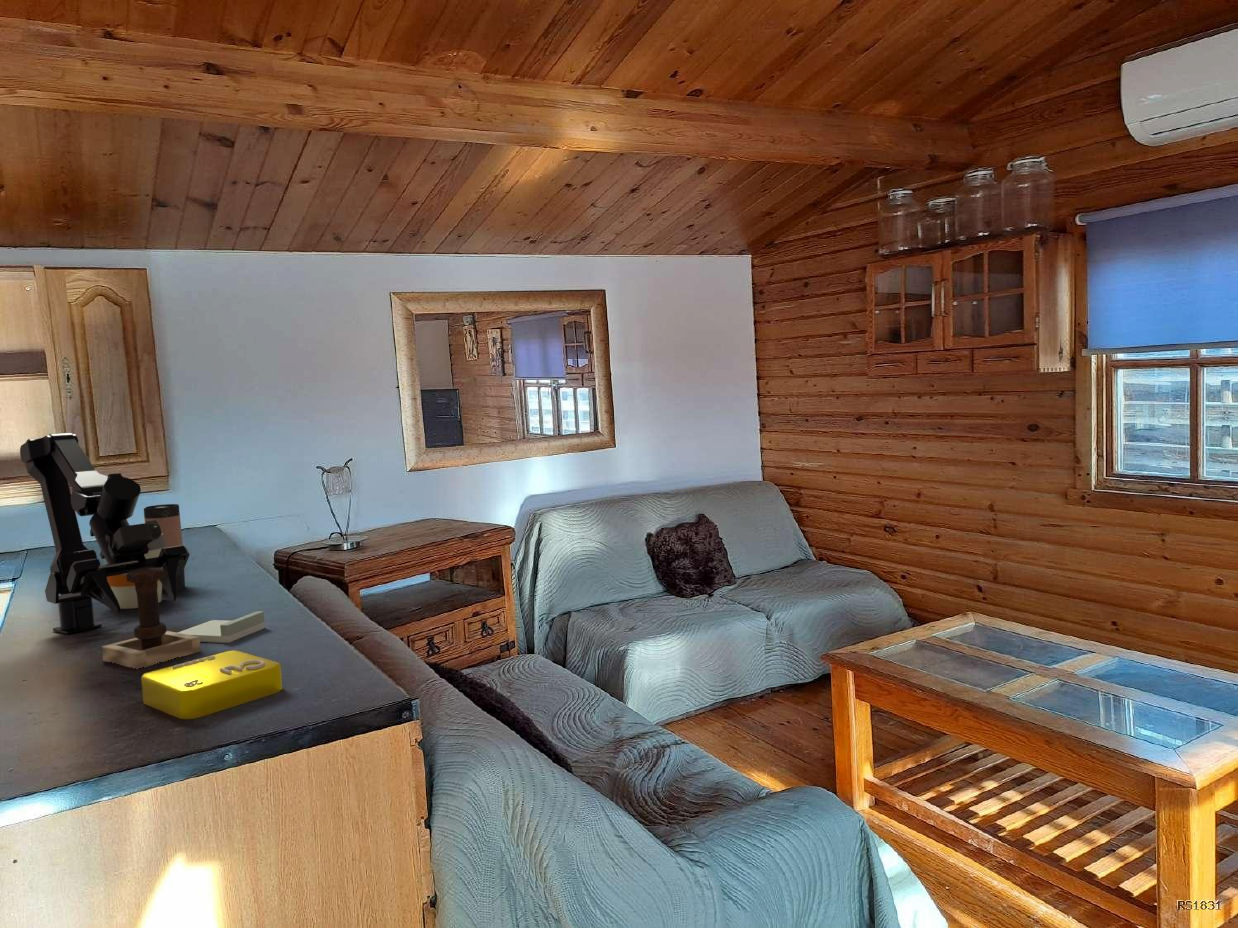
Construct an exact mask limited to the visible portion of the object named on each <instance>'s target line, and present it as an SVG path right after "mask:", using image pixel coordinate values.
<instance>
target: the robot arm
mask: <svg viewBox="0 0 1238 928" xmlns="http://www.w3.org/2000/svg"><path fill="white" fill-rule="evenodd" d="M19 455H20V459H21V461H22V463H24V465H25V469H26V472H27V474H28V475H29V476H30V477H32V478H33V480H35V481H36V482H38V483H39V485H40V489H41V492H42V493H41V494H42V497H43V501H44V506H45V510H46V515H47V518H48V519H47V520H48V523H49V526H50V531H51V536H52V539H53V544H54V548H55V555H54V558H53V560H52V562H51V564H50V566H49V571H50V574H49V575H48V579H47V583H46V587H45V589H44V594H45V597H46V598H45V599H46V601H47V602H49V603H51V604H55V605H58V614H59V617H58V618H59V625H60V626H58V627H57V626H56V627H53V628H52V631H53V632H58V633H62V634H67V635H71V634H75V633H78V632H79V633H80V632H83V631H88V630H91V629H97V628H100V627H103V623H101V622H96V621H95V616H94V607H93V606H94V604H93V600H95V601H98V602H100V603H101V604H103V605H104V606H106V607H107V608H108V609H110V610H112V611H113V612H115V613H116V614H119V613H120V612H121V610H122V609H121V608H120V605H119V602H118V600H117V598H116V596H115V595H114V593H113V591H112V589H111V586H110V585H109V583H108V581H107V577H108V576H115V575H121V574H122V575H126V574H128V573H129V572H130V571H133V570H138V569H145V568H161V569H163V571H164V576H165V577H164V578H161V579H160V582H161V583H162V585H163V587H164V589H165V590H166V592H165V593H166V594H167V595H168V597H169V598H170V600H171V601H172V602H175V601H176V600H177V597H178V594H177V591H178V590H176V578H177V576H178V575H179V574H181V573H182V572H183V570H184V571H185V567H186V565H187V562H188V560H189V557H190V555H191V554H190V552H189V550H188V548H187V547H186V546H185V545H184V544H183V545H178V546H172V547H166V548H162V549H161V551H160V554H159V557H155V558H149V559H146V558H145V556H144V555H145V554H148V551H149V548H148V546H147V545H148V544H149V543H150V542H152V541H153V540H156V539H158V538H159V537H160V536H161V534H162V532H161V528H160V526H159V524H158V522H157V521H156V520H152V521H146V523H145V522H144V523H137V524H136V523H135V524H131V525H130V523H129V521H128V519H130V518H132V517H133V516H134V513H135V512H134V511H135V509H136V507H137V503H138V500H139V497H140V495H141V492H142V488H141V486H140V484H139V483H137V481H135V480H133V479H131V478H129V477H126V476H123V475H122V473H121V472H116V473H115V472H114V473H108V475H105V474H102V473H99V472H98V471H97V470H96V469H95V467H94V465H93V464H92V462H91V460H90V459H89V458H88V456H87V455H86V453H85V452H84V450H83V449H82V447H81V445H80V444H79V439H78V436H77V435H76V434H75V433H72V432H63V433H62V432H61V433H49V434H47V435H45V436H43V437H39V438H27V440H26V441H25V443H23V444H21V446H20V447H19ZM70 486H71V488H70ZM71 489H72V490H71ZM77 515H78V516H80V517H86V516H87V517H88V516H91V517H90V520H89V523H88V524H89V527H90V529H89V536H90V537H94V538H95V541H96V542H97V544H98V546H99V549H100V553H99V556H100V558H101V560H104V558H105V560H106V562H107V564H105V563H104V564H101V561H100V559H99V558H98V556H97V552H96V551H95V550H94V549H92V548H91V549H89V548H88V547H86V546H85V544H84V543H83V538H82V535H81V530H80V529H81V528H80V525H79V522H78V521H79V520H78V517H77Z"/></svg>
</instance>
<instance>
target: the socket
mask: <svg viewBox="0 0 1238 928" xmlns="http://www.w3.org/2000/svg"><path fill="white" fill-rule="evenodd" d="M166 631H167V632H166V633H165V634H164V635H163V636H161V640H162V641H161V642H162V645H161V646H157V647H153V648H149V649H146V650H142V647H141V646H142V645H141V644H142V643H141V642H142V641H141V639H137V638H136V637H135V638H134V637H133V638H130V639H126V640H122V641H118V642H114V643H110V644H107V645H102V646H101V652H102V660H103V662H106V663H107V662H108V663H110V662H112V663H111V664H114V663H116V664H115V665H118V664H119V665H120V666H123V667H127V668H131V667H132V668H131V669H135V668H136V669H135V670H140V669H139V668H141V669H143V668H142V667H144V668H148V667H151V666H154V664H155V665H158V664H160V663H159V662H162V663H165V662H168V660H169V661H171V659H172V660H175V659H174V658H176V657H179V658H182V656H183V657H185V656H188V655H193V654H195V653H199V652H202V647H201V642H200V637H196V636H191V635H186V634H181V633H178V632H174V631H170V630H166ZM176 659H177V658H176ZM157 663H158V664H157ZM119 665H118V666H119Z"/></svg>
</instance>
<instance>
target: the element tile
mask: <svg viewBox="0 0 1238 928" xmlns="http://www.w3.org/2000/svg"><path fill="white" fill-rule="evenodd" d="M281 666H282V665H281V663H280V662H277V661H274V660H270V659H267V658H264V657H260V656H256V655H254V654H250V653H246V652H244V651H240V650H235V649H233V650H229V651H224V652H223V651H222V652H220V653H216V654H213V655H209V656H205V657H202V658H197V659H193V660H191V661H190V660H189V661H185V662H183V663H182V662H181V663H179V664H175V665H171V666H168V667H163V668H160V669H155V670H152V671H148V672H145V673H143V674H142V675H141V677H140V681H141V689H142V690H141V692H142V702H143V704H144V705H147V706H149V707H151V708H153V709H156V710H158V711H160V712H163V713H166V714H168V715H170V716H172V717H173V716H174V717H175V718H178V719H179V720H192V719H197V718H201V717H202V718H203V717H204V716H205V717H206V716H209V715H211V714H214V713H217V712H220V711H224V710H227V709H229V708H233V707H236V706H239V705H243V704H246V703H248V702H251V701H255V700H258V699H262V698H265V697H268V696H271V695H274V694H277V693H280V692H281V691H282V690H283V680H282V679H283V678H282V667H281Z"/></svg>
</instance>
